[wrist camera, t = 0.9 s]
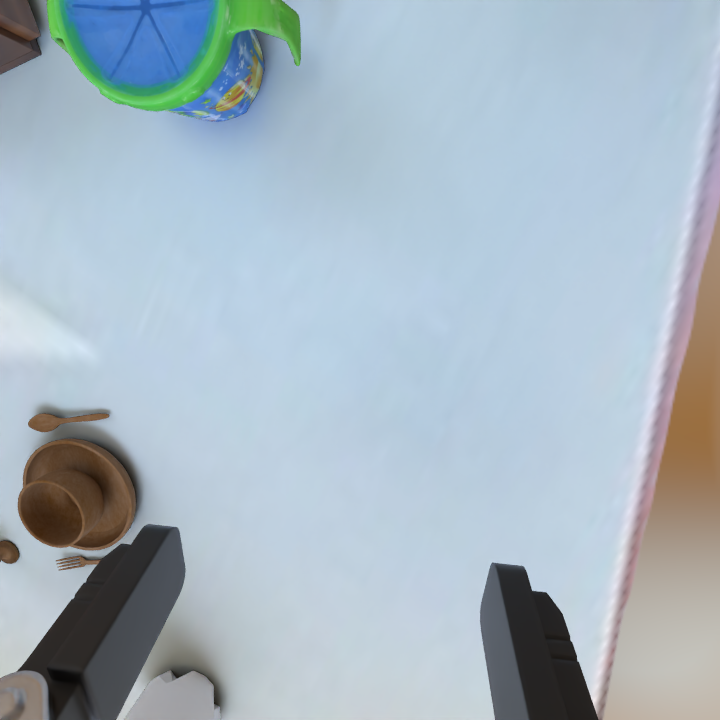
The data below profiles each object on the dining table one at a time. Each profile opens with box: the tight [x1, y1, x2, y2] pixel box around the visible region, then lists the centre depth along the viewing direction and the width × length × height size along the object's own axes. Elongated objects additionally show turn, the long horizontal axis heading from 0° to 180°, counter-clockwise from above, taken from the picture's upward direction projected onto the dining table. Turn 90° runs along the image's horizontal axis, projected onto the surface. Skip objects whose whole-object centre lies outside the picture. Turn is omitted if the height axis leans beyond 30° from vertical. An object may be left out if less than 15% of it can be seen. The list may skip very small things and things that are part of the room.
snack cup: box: [47, 0, 301, 122], centre depth 30 cm, size 16×11×10 cm
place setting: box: [0, 414, 136, 570], centre depth 44 cm, size 18×20×6 cm
